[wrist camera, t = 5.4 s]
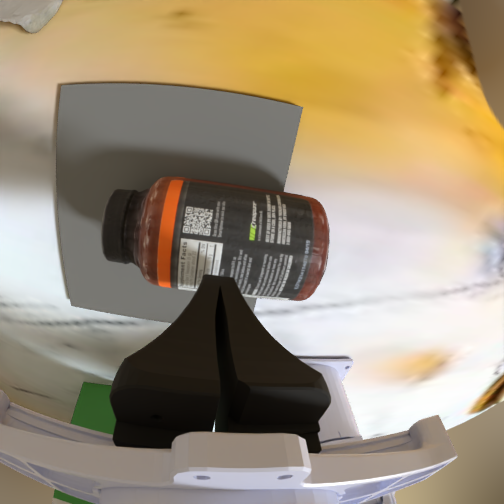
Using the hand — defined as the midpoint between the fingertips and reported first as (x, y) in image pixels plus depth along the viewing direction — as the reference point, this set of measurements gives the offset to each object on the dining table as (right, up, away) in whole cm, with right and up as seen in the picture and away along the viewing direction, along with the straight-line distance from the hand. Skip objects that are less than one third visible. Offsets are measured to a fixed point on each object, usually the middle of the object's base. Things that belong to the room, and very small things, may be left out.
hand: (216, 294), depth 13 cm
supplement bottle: (+5, +2, +4) cm, 7 cm away
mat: (-4, +4, +6) cm, 8 cm away
